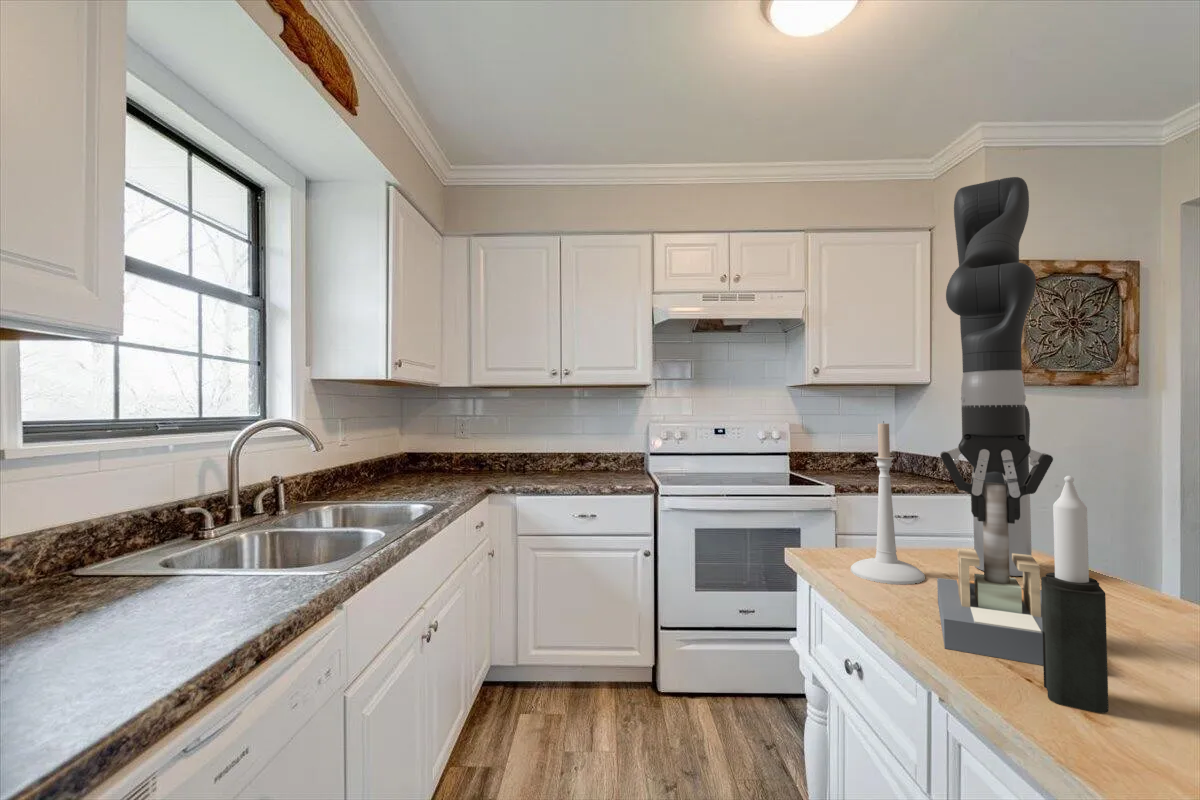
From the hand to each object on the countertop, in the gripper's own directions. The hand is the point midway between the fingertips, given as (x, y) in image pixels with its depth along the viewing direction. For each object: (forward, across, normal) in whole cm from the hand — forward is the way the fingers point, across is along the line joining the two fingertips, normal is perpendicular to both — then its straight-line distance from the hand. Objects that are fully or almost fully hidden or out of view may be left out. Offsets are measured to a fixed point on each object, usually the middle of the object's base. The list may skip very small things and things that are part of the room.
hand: (995, 521), depth 79 cm
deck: (+16, 0, 0) cm, 16 cm away
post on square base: (+12, 0, 0) cm, 12 cm away
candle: (+16, -5, +18) cm, 24 cm away
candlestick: (+16, +15, -24) cm, 32 cm away
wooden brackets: (+12, 0, 0) cm, 12 cm away
